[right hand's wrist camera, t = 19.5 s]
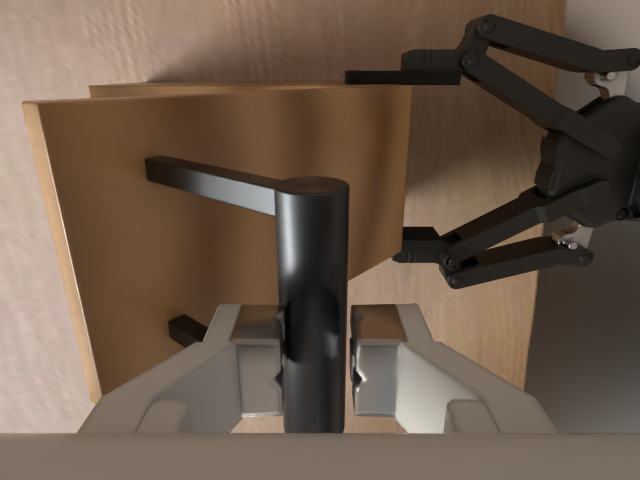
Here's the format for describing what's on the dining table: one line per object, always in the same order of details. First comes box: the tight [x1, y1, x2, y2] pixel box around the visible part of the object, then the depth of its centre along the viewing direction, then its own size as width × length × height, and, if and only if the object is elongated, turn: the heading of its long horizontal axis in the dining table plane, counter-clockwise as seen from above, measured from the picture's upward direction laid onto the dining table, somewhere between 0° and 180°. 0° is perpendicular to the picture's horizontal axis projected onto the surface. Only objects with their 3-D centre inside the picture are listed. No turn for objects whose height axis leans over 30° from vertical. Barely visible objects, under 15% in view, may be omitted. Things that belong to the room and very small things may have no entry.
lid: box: [22, 85, 412, 433], centre depth 17 cm, size 18×10×8 cm
